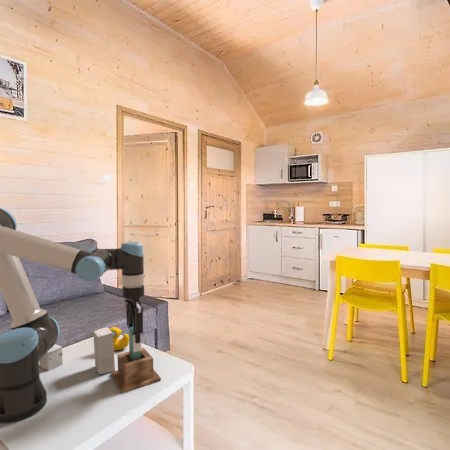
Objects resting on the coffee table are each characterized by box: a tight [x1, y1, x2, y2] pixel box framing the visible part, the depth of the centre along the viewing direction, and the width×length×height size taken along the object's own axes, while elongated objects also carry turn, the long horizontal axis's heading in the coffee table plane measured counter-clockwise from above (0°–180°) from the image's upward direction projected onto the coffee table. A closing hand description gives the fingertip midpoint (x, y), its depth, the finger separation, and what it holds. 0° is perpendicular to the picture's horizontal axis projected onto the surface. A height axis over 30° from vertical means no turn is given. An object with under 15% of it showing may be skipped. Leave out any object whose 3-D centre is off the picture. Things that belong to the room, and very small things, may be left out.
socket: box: [110, 347, 162, 394], centre depth 119 cm, size 14×14×8 cm
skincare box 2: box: [92, 326, 116, 376], centre depth 126 cm, size 8×6×15 cm
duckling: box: [109, 326, 129, 352], centre depth 142 cm, size 11×5×10 cm, turn 105°
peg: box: [128, 326, 141, 362], centre depth 119 cm, size 4×4×12 cm
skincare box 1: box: [39, 343, 64, 372], centre depth 128 cm, size 6×6×7 cm
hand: (135, 348), depth 119 cm, fingers closed on peg, 4 cm apart
